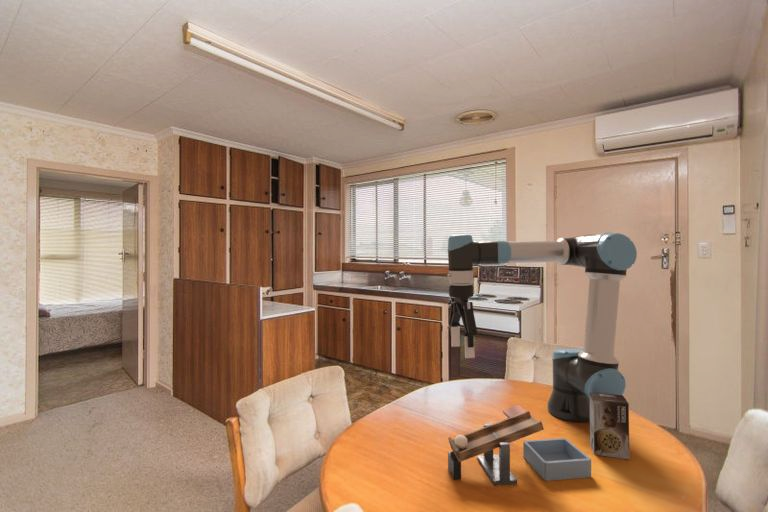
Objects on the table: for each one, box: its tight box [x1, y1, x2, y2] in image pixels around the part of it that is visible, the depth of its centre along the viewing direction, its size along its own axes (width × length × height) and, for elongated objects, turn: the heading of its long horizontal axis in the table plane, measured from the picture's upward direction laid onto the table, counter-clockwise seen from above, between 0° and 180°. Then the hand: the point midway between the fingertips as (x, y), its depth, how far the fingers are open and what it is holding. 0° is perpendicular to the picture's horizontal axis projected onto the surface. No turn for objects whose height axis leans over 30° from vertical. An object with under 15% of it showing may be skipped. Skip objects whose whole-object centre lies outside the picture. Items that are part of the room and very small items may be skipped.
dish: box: [522, 437, 592, 482], centre depth 102 cm, size 13×12×4 cm
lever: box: [448, 404, 545, 463], centre depth 103 cm, size 24×15×3 cm, turn 96°
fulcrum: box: [447, 423, 518, 486], centre depth 99 cm, size 16×12×10 cm
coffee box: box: [589, 392, 631, 460], centre depth 109 cm, size 9×6×16 cm
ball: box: [453, 434, 468, 449], centre depth 99 cm, size 4×4×4 cm
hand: (462, 351), depth 117 cm, fingers open, 13 cm apart
